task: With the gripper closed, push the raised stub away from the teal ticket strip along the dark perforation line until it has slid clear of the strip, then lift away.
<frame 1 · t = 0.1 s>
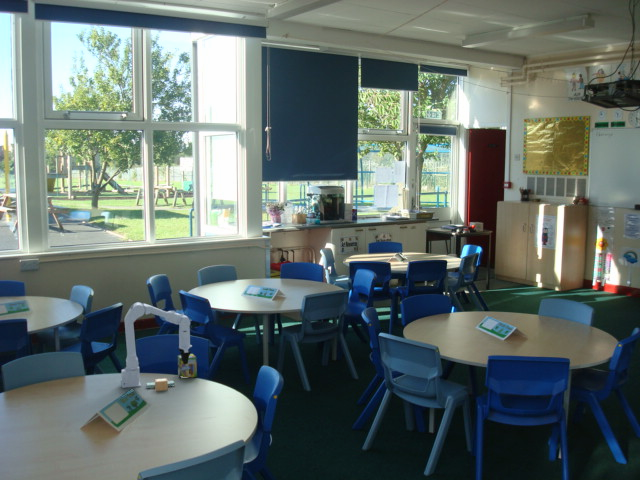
hand: (184, 362, 347), 10 cm above the table, fingers open, 5 cm apart
stub: (161, 384, 333), point 2 cm above the table, slide at 0.0 cm
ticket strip: (160, 386, 338), on the table
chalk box: (187, 376, 357), on the table, touching gripper
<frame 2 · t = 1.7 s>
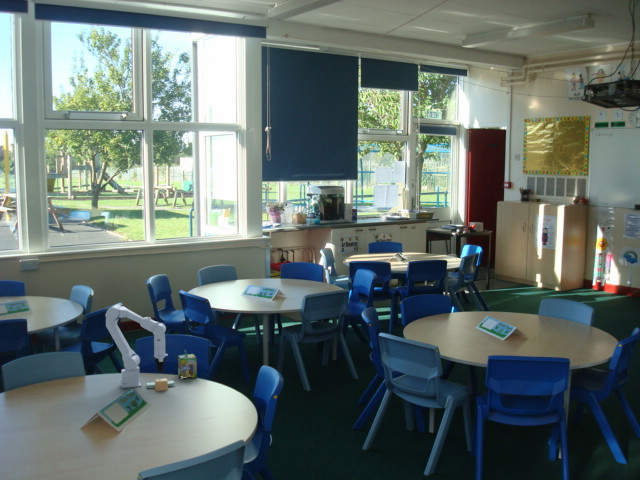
hand: (160, 371, 339), 7 cm above the table, fingers closed
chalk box: (187, 376, 357), on the table
everything else where it was.
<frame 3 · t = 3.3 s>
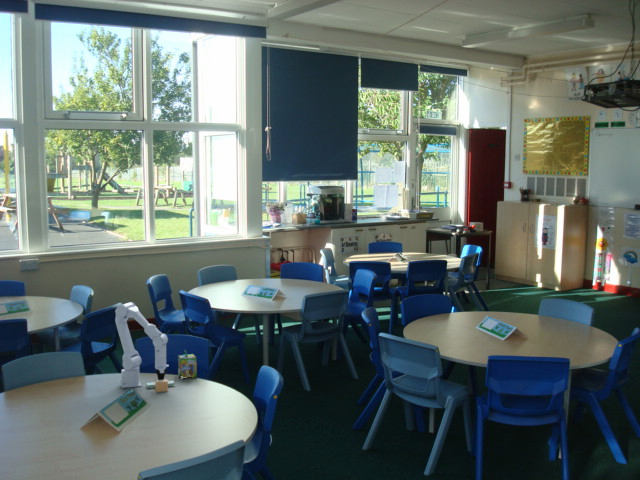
hand: (160, 382, 335), 3 cm above the table, fingers closed
stub: (161, 385, 332), point 2 cm above the table, slide at 1.7 cm, touching gripper
everything else where it was.
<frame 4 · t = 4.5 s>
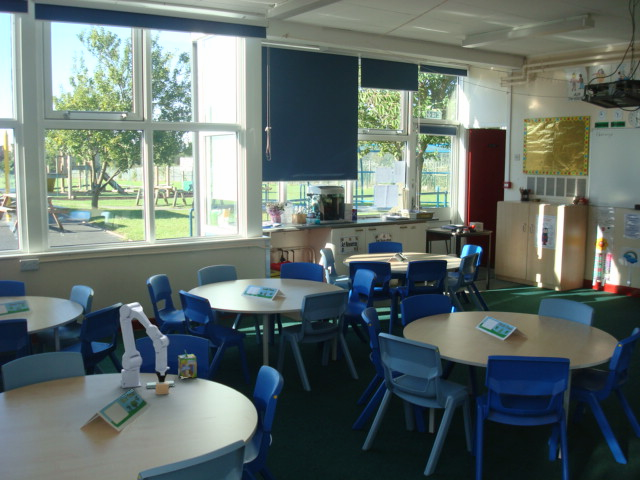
hand: (161, 385, 331), 3 cm above the table, fingers closed
stub: (162, 387, 328), point 2 cm above the table, slide at 5.9 cm, touching gripper
everything else where it was.
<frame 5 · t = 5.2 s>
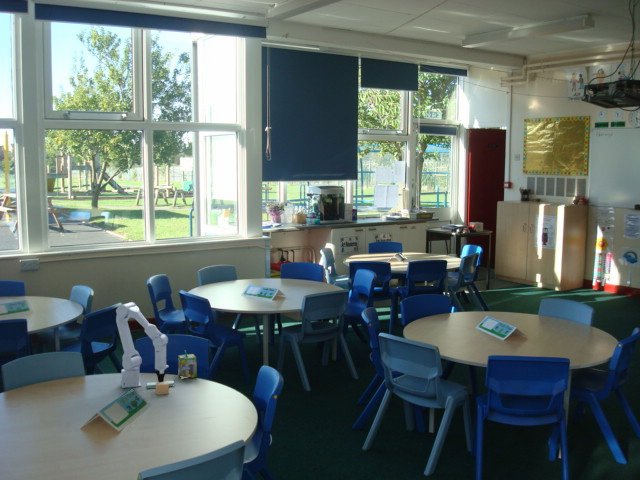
hand: (160, 383, 334), 3 cm above the table, fingers closed
stub: (162, 387, 328), point 2 cm above the table, slide at 5.9 cm
everything else where it was.
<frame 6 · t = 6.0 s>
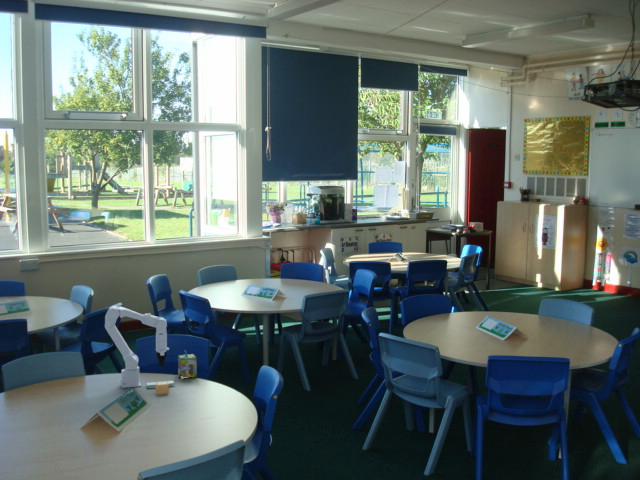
hand: (161, 365, 342), 10 cm above the table, fingers closed
nothing on the table moved.
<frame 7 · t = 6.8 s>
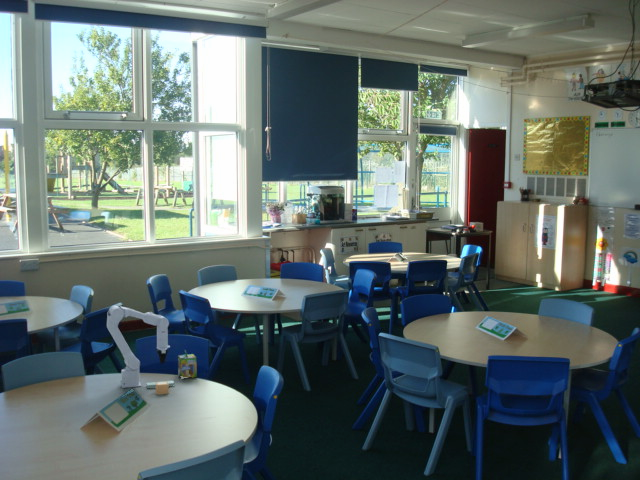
hand: (162, 363, 347), 10 cm above the table, fingers closed
nothing on the table moved.
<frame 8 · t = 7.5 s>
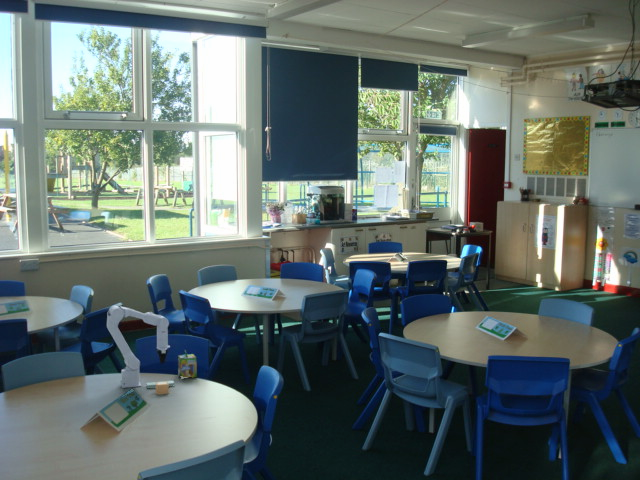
hand: (162, 363, 347), 10 cm above the table, fingers closed
nothing on the table moved.
at the end: stub slide at 5.9 cm; the gripper is holding nothing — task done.
